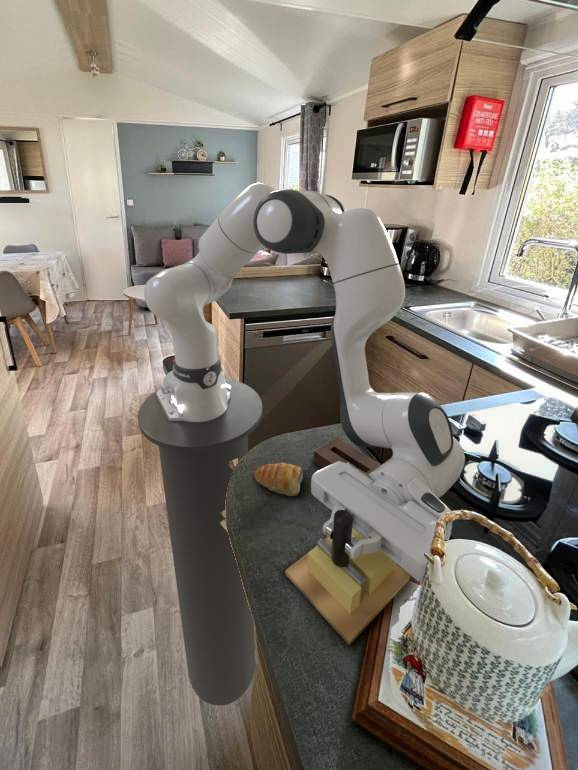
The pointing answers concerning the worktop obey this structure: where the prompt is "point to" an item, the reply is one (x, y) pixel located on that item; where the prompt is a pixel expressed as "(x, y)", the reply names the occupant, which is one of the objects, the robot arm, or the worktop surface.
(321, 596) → the board
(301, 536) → the worktop surface
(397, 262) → the robot arm
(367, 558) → the butter
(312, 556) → the butter slice
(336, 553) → the knife
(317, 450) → the knife stand
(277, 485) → the pastry
